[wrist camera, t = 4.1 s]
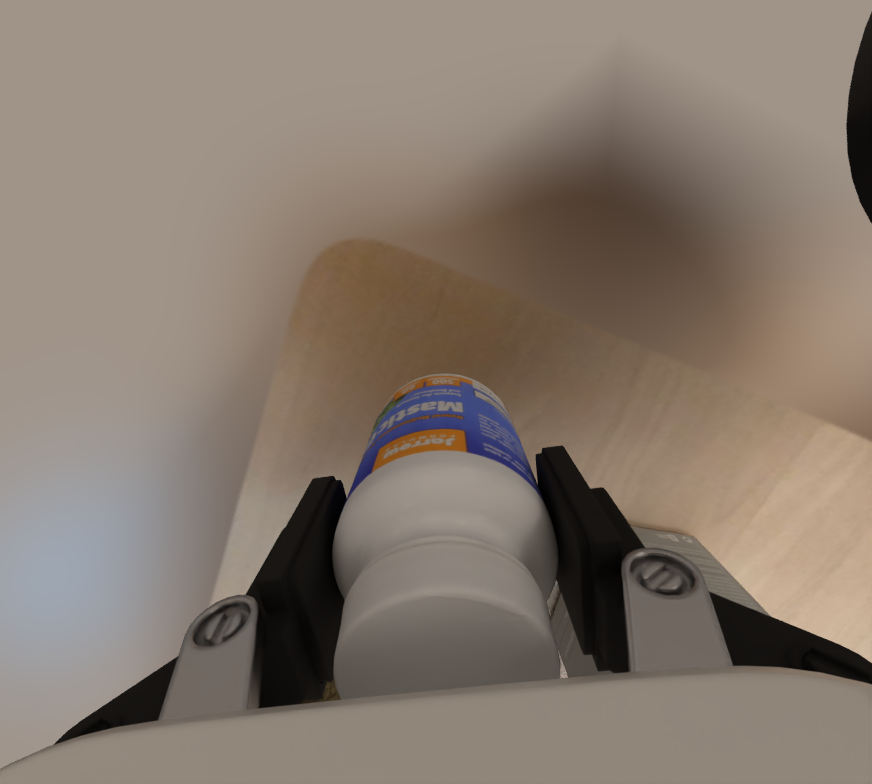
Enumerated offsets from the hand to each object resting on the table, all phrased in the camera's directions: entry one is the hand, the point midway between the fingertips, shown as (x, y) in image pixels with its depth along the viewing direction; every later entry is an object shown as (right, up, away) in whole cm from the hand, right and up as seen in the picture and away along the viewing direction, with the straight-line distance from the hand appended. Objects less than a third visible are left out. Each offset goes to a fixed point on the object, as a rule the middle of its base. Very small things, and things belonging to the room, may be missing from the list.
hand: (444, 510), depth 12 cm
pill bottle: (0, +2, +5) cm, 5 cm away
